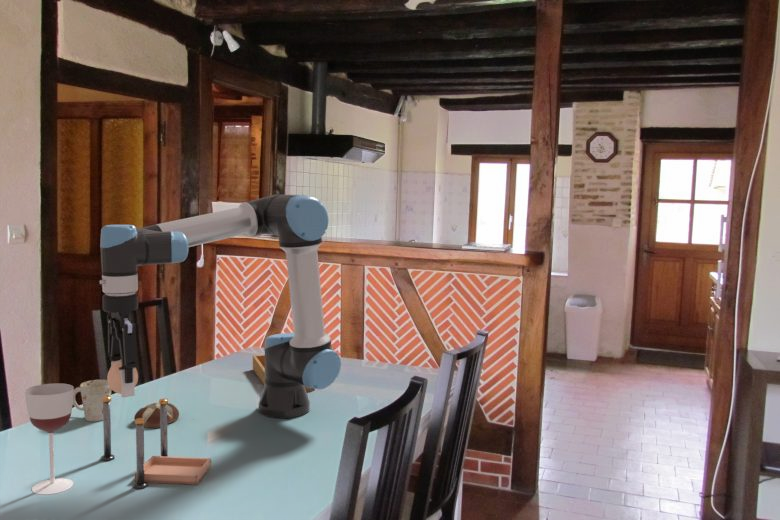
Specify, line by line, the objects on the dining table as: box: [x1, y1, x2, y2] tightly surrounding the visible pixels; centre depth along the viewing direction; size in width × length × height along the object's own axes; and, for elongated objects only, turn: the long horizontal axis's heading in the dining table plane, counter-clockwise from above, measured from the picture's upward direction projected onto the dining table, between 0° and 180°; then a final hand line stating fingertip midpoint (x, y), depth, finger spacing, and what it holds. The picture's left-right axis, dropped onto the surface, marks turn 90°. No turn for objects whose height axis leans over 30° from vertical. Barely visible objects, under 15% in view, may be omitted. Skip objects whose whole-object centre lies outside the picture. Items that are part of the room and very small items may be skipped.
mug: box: [73, 379, 113, 422], centre depth 198 cm, size 8×13×10 cm, turn 78°
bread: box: [134, 402, 180, 429], centre depth 196 cm, size 11×11×5 cm
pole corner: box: [158, 398, 169, 457], centre depth 168 cm, size 3×3×15 cm
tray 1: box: [134, 455, 212, 486], centre depth 161 cm, size 14×10×2 cm
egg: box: [106, 359, 139, 395], centre depth 160 cm, size 7×7×8 cm
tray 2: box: [252, 354, 316, 392], centre depth 240 cm, size 31×15×6 cm, turn 21°
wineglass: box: [24, 382, 75, 496], centre depth 153 cm, size 9×10×22 cm
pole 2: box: [133, 418, 149, 490], centre depth 154 cm, size 3×3×15 cm
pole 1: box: [100, 396, 115, 462], centre depth 169 cm, size 3×3×15 cm
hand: (123, 391), depth 160 cm, fingers closed on egg, 7 cm apart
